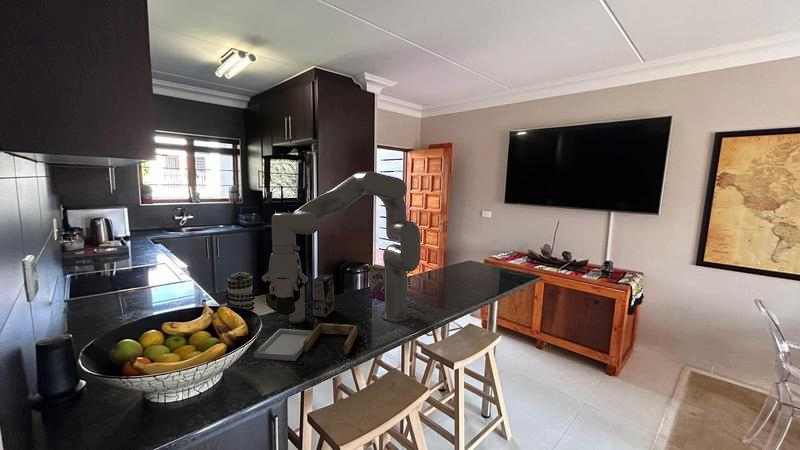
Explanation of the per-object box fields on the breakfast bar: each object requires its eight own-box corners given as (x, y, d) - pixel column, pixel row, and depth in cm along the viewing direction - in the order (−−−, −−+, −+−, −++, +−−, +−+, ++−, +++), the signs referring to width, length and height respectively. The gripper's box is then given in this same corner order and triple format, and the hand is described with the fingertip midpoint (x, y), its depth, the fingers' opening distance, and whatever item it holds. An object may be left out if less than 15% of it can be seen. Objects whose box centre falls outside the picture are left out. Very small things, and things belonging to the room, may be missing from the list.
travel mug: (290, 325, 131) (289, 276, 129) (288, 319, 137) (287, 272, 135) (306, 322, 134) (305, 275, 132) (303, 316, 140) (302, 271, 137)
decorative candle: (228, 338, 119) (225, 271, 116) (256, 333, 123) (253, 269, 120) (226, 349, 111) (223, 278, 108) (256, 344, 115) (254, 275, 112)
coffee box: (326, 317, 140) (326, 280, 138) (312, 315, 141) (311, 279, 139) (334, 309, 148) (334, 274, 147) (321, 308, 150) (321, 273, 148)
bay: (357, 334, 124) (357, 325, 124) (347, 354, 109) (347, 344, 109) (319, 331, 126) (318, 323, 125) (303, 351, 111) (303, 341, 110)
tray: (315, 335, 123) (315, 330, 122) (295, 360, 105) (295, 355, 105) (279, 333, 124) (279, 328, 124) (253, 357, 106) (253, 352, 106)
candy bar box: (368, 297, 165) (368, 265, 163) (374, 294, 169) (374, 263, 167) (386, 301, 159) (387, 269, 157) (392, 299, 164) (393, 267, 162)
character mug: (295, 306, 119) (294, 271, 118) (305, 312, 114) (304, 275, 113) (265, 314, 111) (264, 277, 110) (275, 320, 106) (274, 282, 105)
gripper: (313, 248, 113) (313, 297, 115) (265, 246, 115) (266, 295, 117) (304, 252, 106) (305, 305, 108) (253, 250, 107) (255, 302, 109)
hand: (285, 299), depth 112 cm, fingers closed on character mug, 7 cm apart
